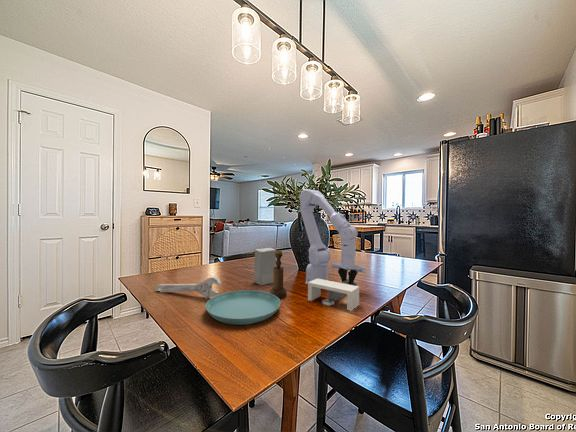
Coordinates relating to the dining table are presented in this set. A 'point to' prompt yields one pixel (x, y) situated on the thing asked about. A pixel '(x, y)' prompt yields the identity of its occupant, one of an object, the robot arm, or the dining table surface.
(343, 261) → the robot arm
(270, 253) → the skincare box
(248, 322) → the saucer
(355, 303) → the low bench
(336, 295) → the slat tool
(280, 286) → the pepper mill
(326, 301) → the steel disc
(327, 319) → the dining table surface
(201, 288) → the wrench
